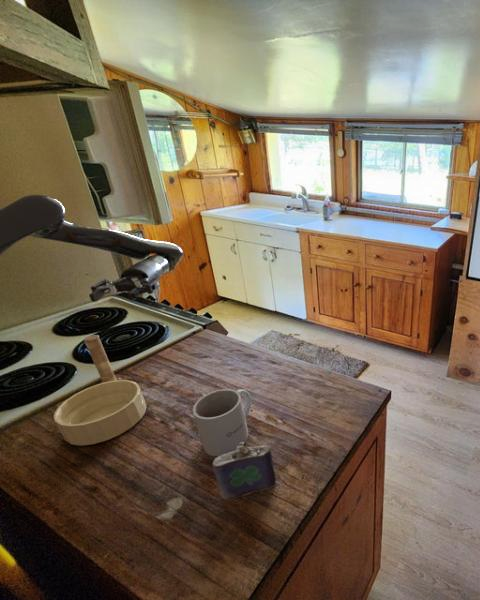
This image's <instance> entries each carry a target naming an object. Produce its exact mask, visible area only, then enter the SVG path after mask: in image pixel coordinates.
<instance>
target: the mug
mask: <svg viewBox="0 0 480 600" xmlns="http://www.w3.org/2000/svg"><path fill="white" fill-rule="evenodd" d="M242 395H243V397H244V406H243V401H242ZM194 403H195V404H194V405H193V407H192V414H193V417H194V421H195V423H196V427H197V431H198V433H199V437H200V440H201V444H202V447H203V450H204V452H205V453H206V454H208V455H209V456H212V457H219V456H221V455H224V454H227V453H230V452H232V451H236V449H237V447H238V446H241V445H244V444H246V442H247V439H248V438H249V428H248V424H247V419H246V418H247V416H248V414H249V413H250V411H251V406H252V399H251V395H250V393H249V391H247V390H246V389H240V388H239V389H238V390H236V389H232V388H222V389H217V390H214V391H211V392H208V393H206V394H205V395H203V396H202V397H200V398H199V399H198V400H196V402H194ZM241 442H244V444H241V445H240V444H239V443H241ZM237 444H238V445H237Z"/></svg>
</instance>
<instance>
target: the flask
mask: <svg viewBox="0 0 480 600" xmlns="http://www.w3.org/2000/svg"><path fill="white" fill-rule="evenodd" d="M239 444H240V445H241V444H243V445H241V446H238V447H237V449H236V451H232V452H230V453H227V454H224V455H221V456H216V457H215V458H214V460H213V461H212V470H213V473H214V476H215V479H216V481H217V486H218V488H219V493H220V497H221V498H222V500H223V501H230V500H235V498H240V497H244V496H245V497H246V496H250V495H251V494H252V493H254V492H255V493H258V492H260V491H266V490H270V489H272V488H273V487H274V486H275V485H276V481H277V480H276V479H277V478H276V473H275V468H274V463H273V457H272V451H271V449H270V447H269V446H268V445H258V446H256V445H255V446H245V443H244V442H241V443H239ZM237 445H238V444H237Z"/></svg>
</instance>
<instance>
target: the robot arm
mask: <svg viewBox="0 0 480 600" xmlns="http://www.w3.org/2000/svg"><path fill="white" fill-rule="evenodd" d="M66 215H67V214H66V209H65V207H64V206H63V204H62V203H61V202H60V201H58V200H57V199H56V198H53V197H51V196H48V195H44V194H28V195H23V196H21V197H19V198H18V199H16V200H15V201H12V202H11V203H9V204H7V205H5V206H3V207H2V208H0V256H2V255H4V253H6V252H7V251H8V250H10V249H11V248H12V247H13V246H14V245H16V244H18V242H20V241H22V240H24V239H26V238H28V237H33V238H37V239H44V240H50V241H56V242H62V243H66V244H71V245H72V244H73V245H77V246H83V247H88V248H92V249H98V250H102V251H105V252H110V253H113V254H117V255H121V256H123V257H127V258H130V259H132V260H137V261H138V262H136V263H134V264H132V265H131V266H129V267H128V268H126V269H124V270H123V271H122V273H121V274H120V277H119V278H117V279H115V280H112V281H109V279H108V278H105V279H102V280H101V281H99V282H97V283H95V284H93V285H91V286H90V290H91V293H89V295H88V296H89V299H90V301H91V302H95V303H96V302H99V300H101V299H102V298H104V297H106V296H110V295H111V296H115V295H118V294H122V293H127V297H128V299H129V301H134V300H136V299H138V298H139V297H140V296H144V295H145V294H148V295H152V294H153V293H154V292H155V291H157V289H158V288H160V280H161V278H163V277H164V276H166V275H169V274H171V273H172V272H173V271H175V269H176V268H177V266H178V265H179V263H180V262H181V260H182V259H183V257H184V250H183V249H182V247H180V246H179V245H177V244H174V243H172V242H167V241H158V240H150V239H144V238H141V237H137V236H135V235H131V234H129V233H126V232H122V231H118V230H111V229H103V228H93V227H88V226H82V225H77V224H74V223H71V222H68V221H65V220H66ZM114 288H115V290H114Z"/></svg>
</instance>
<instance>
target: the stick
mask: <svg viewBox="0 0 480 600" xmlns="http://www.w3.org/2000/svg"><path fill="white" fill-rule="evenodd" d="M83 341H84V343H85V345H86V348H87V350H88V353H89V355H90V357H91V359H92V362H93V364H94V365H95V368H96V371H97V373H98V375H99V377H100V380H101V382H100V383H99V384H101V383H105V382H109V381H116V380H122V378H121V377H118V376H116V375H115V372H114V370H113V367H112V364H111V362H110V361H109V358H108V355H107V353H106V351H105V348H104V346H103V344H102V340H101V338H100V336H99V335H98V334H92V335H91V334H90V335H88V336H86V337H84V338H83Z"/></svg>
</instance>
